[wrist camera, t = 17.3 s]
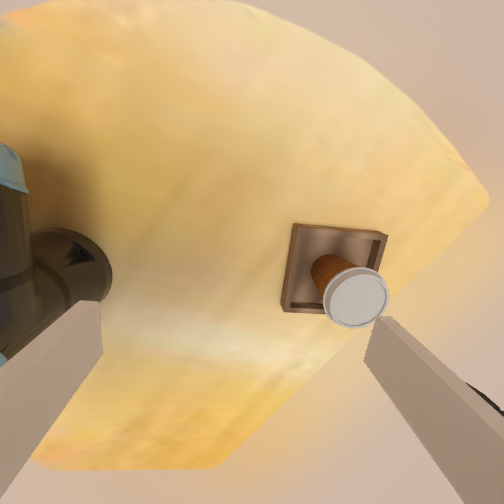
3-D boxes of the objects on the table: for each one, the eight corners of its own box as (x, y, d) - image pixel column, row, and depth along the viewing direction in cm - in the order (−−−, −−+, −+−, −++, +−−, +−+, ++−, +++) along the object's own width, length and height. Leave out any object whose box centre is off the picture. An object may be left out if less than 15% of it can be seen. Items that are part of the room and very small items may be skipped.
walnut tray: (280, 303, 48) (283, 312, 45) (293, 223, 43) (298, 227, 40) (357, 308, 49) (365, 316, 47) (378, 231, 45) (388, 235, 42)
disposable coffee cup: (361, 272, 46) (404, 304, 35) (320, 302, 47) (349, 342, 36) (334, 234, 43) (371, 256, 32) (292, 267, 45) (313, 300, 33)
